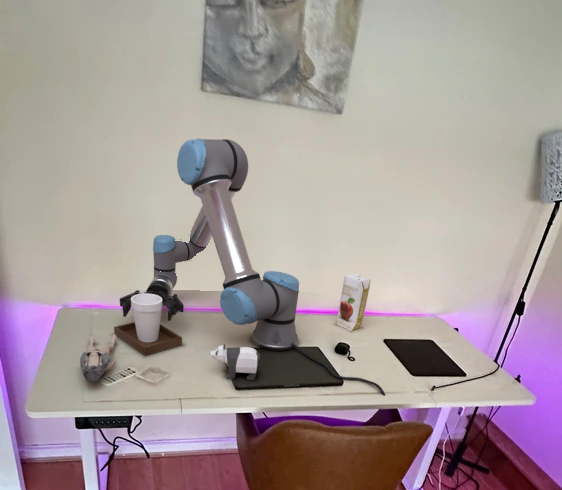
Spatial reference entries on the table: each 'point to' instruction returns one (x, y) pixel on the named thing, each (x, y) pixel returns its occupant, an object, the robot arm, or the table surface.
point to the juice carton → (353, 301)
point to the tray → (164, 342)
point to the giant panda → (237, 360)
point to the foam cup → (147, 315)
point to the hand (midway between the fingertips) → (146, 314)
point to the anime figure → (96, 360)
